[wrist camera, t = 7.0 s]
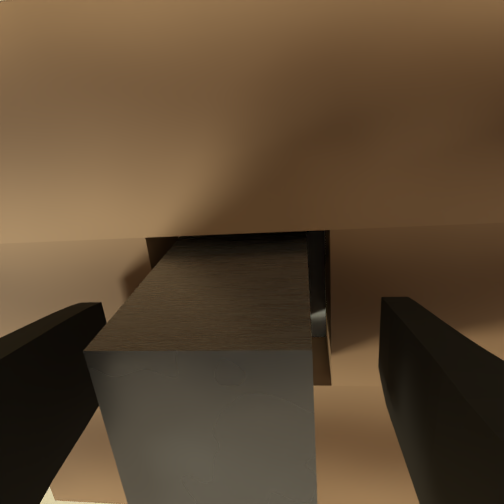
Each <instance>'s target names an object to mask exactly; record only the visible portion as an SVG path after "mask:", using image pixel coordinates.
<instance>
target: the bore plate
mask: <svg viewBox="0 0 504 504" xmlns="http://www.w3.org/2000/svg"><path fill="white" fill-rule="evenodd" d="M315 230H325V290H326V337H312V358H313V387H314V417H315V446H316V476H317V504H419V501H418V498H417V495H416V492H415V489H414V486H413V483H412V480H411V477H410V474H409V471H408V468H407V466H406V463H405V460H404V457H403V454H402V451H401V448H400V445H399V442H398V439H397V436H396V433H395V430H394V427H393V425H392V422H391V419H390V416H389V413H388V410H387V406H386V403H385V398H384V394H383V389H382V384H381V379H380V374H379V369H378V359H379V337H380V314H381V297H409V298H411V299H413V300H414V301H416V302H417V303H419V304H420V305H421V306H423V307H424V308H426V309H427V310H428V311H430V312H431V313H433V314H434V315H435V316H437V317H438V318H440V319H441V320H442V321H444V322H445V323H447V324H448V325H450V326H451V327H452V328H454V329H455V330H457V331H458V332H460V333H461V334H463V335H464V336H466V337H467V338H469V339H470V340H472V341H473V342H475V343H476V344H478V345H479V346H481V347H482V348H484V349H486V350H487V351H489V352H491V353H492V354H494V355H495V356H497V357H499V358H500V359H502V360H504V0H7V1H0V338H1V337H3V336H5V335H7V334H9V333H11V332H14V331H16V330H18V329H20V328H22V327H24V326H26V325H28V324H30V323H33V322H35V321H37V320H39V319H41V318H43V317H45V316H48V315H50V314H52V313H54V312H57V311H59V310H61V309H64V308H66V307H69V306H71V305H74V304H77V303H81V302H102V306H103V310H104V314H105V318H106V322H108V321H109V320H110V319H111V318H112V316H113V315H114V314H115V313H116V312H117V311H118V309H119V308H120V307H121V306H122V305H123V303H124V302H125V301H126V300H127V299H128V298H129V296H130V295H131V294H132V293H133V292H134V290H135V289H136V288H137V287H138V286H139V285H140V283H141V282H142V281H143V280H144V279H145V278H146V276H147V275H148V274H149V273H150V272H151V270H152V269H153V268H154V267H155V266H156V265H157V263H158V262H159V261H160V260H161V259H162V258H163V256H164V255H165V254H166V253H167V252H168V250H169V249H170V248H171V247H172V246H173V245H174V243H175V242H176V241H177V240H178V236H196V235H220V234H244V233H267V232H291V231H315ZM50 488H51V491H52V493H53V496H54V498H55V500H60V501H78V502H95V503H113V504H128V503H127V500H126V496H125V493H124V489H123V486H122V483H121V479H120V476H119V472H118V469H117V465H116V462H115V459H114V455H113V452H112V448H111V445H110V441H109V438H108V435H107V431H106V428H105V424H104V421H103V417H102V414H101V411H100V407H98V408H97V410H96V412H95V413H94V415H93V417H92V418H91V420H90V422H89V423H88V425H87V426H86V428H85V430H84V431H83V433H82V434H81V436H80V438H79V439H78V441H77V442H76V444H75V446H74V447H73V449H72V451H71V452H70V454H69V455H68V457H67V459H66V460H65V462H64V463H63V465H62V467H61V468H60V470H59V471H58V473H57V475H56V476H55V478H54V479H53V481H52V483H51V485H50Z"/></svg>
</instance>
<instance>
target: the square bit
mask: <svg viewBox="0 0 504 504" xmlns="http://www.w3.org/2000/svg"><path fill="white" fill-rule="evenodd" d="M83 352H84V356H85V359H86V363H87V366H88V369H89V373H90V376H91V380H92V383H93V387H94V390H95V393H96V397H97V400H98V404H99V407H100V411H101V414H102V417H103V421H104V424H105V428H106V431H107V435H108V438H109V441H110V445H111V448H112V452H113V455H114V459H115V462H116V465H117V469H118V472H119V476H120V479H121V483H122V486H123V489H124V493H125V496H126V500H127V503H128V504H317V476H316V446H315V417H314V387H313V358H312V336H311V316H310V296H309V277H308V257H307V237H306V231H291V232H267V233H244V234H220V235H196V236H180V238H179V239H178V240H177V241H176V242H175V243H174V245H173V246H172V247H171V248H170V249H169V250H168V252H167V253H166V254H165V255H164V256H163V258H162V259H161V260H160V261H159V262H158V263H157V265H156V266H155V267H154V268H153V269H152V270H151V272H150V273H149V274H148V275H147V276H146V278H145V279H144V280H143V281H142V282H141V283H140V285H139V286H138V287H137V288H136V289H135V290H134V292H133V293H132V294H131V295H130V296H129V298H128V299H127V300H126V301H125V302H124V303H123V305H122V306H121V307H120V308H119V309H118V311H117V312H116V313H115V314H114V315H113V316H112V318H111V319H110V320H109V321H108V322H107V323H106V325H105V326H104V327H103V328H102V329H101V331H100V332H99V333H98V334H97V335H96V336H95V338H94V339H93V340H92V341H91V342H90V343H89V345H88V346H87V347H86V348H85V349H84V351H83Z"/></svg>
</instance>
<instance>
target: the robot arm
mask: <svg viewBox="0 0 504 504" xmlns="http://www.w3.org/2000/svg"><path fill="white" fill-rule="evenodd" d="M106 323H107V322H106V318H105V314H104V310H103V306H102V302H81V303H77V304H74V305H71V306H69V307H66V308H64V309H61V310H59V311H57V312H54V313H52V314H50V315H48V316H45V317H43V318H41V319H39V320H37V321H35V322H33V323H30V324H28V325H26V326H24V327H22V328H20V329H18V330H16V331H14V332H11V333H9V334H7V335H5V336H3V337H1V338H0V504H40V502H41V500H42V499H43V497H44V495H45V493H46V492H47V490H48V488H49V486H50V485H51V483H52V481H53V479H54V478H55V476H56V475H57V473H58V471H59V470H60V468H61V467H62V465H63V463H64V462H65V460H66V459H67V457H68V455H69V454H70V452H71V451H72V449H73V447H74V446H75V444H76V442H77V441H78V439H79V438H80V436H81V434H82V433H83V431H84V430H85V428H86V426H87V425H88V423H89V422H90V420H91V418H92V417H93V415H94V413H95V412H96V410H97V408H98V407H99V404H98V400H97V397H96V393H95V390H94V387H93V383H92V380H91V376H90V373H89V369H88V366H87V363H86V359H85V356H84V352H83V351H84V349H85V348H86V347H87V346H88V345H89V343H90V342H91V341H92V340H93V339H94V338H95V336H96V335H97V334H98V333H99V332H100V331H101V329H102V328H103V327H104V326H105V325H106ZM378 369H379V374H380V379H381V384H382V389H383V394H384V398H385V403H386V406H387V410H388V413H389V416H390V419H391V422H392V425H393V427H394V430H395V433H396V436H397V439H398V442H399V445H400V448H401V451H402V454H403V457H404V460H405V463H406V466H407V468H408V471H409V474H410V477H411V480H412V483H413V486H414V489H415V492H416V495H417V498H418V501H419V504H504V360H502V359H500V358H499V357H497V356H495V355H494V354H492V353H491V352H489V351H487V350H486V349H484V348H482V347H481V346H479V345H478V344H476V343H475V342H473V341H472V340H470V339H469V338H467V337H466V336H464V335H463V334H461V333H460V332H458V331H457V330H455V329H454V328H452V327H451V326H450V325H448V324H447V323H445V322H444V321H442V320H441V319H440V318H438V317H437V316H435V315H434V314H433V313H431V312H430V311H428V310H427V309H426V308H424V307H423V306H421V305H420V304H419V303H417V302H416V301H414V300H413V299H411V298H409V297H381V314H380V337H379V359H378Z"/></svg>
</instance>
